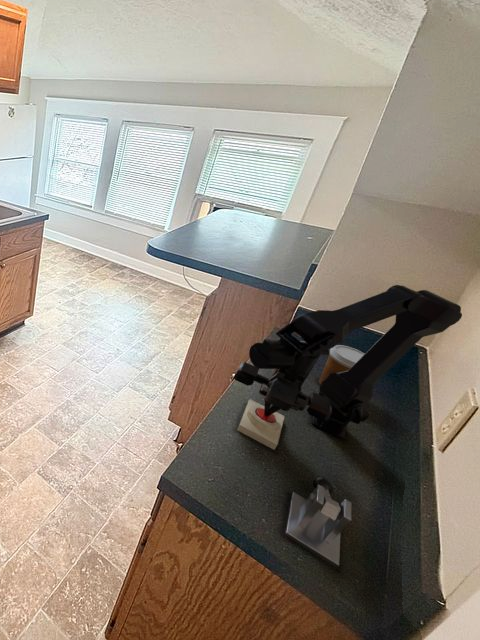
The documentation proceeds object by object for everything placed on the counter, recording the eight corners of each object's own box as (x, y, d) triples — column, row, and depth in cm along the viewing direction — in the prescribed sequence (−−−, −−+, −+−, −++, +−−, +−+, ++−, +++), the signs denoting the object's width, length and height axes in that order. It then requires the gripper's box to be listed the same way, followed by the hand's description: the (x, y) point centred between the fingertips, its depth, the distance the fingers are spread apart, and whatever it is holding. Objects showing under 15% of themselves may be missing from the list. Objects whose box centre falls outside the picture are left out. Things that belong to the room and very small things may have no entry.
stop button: (255, 410, 97) (258, 406, 96) (273, 419, 94) (276, 414, 94) (252, 419, 94) (255, 414, 93) (270, 429, 92) (274, 424, 91)
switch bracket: (290, 495, 79) (310, 468, 75) (338, 522, 75) (362, 495, 71) (283, 535, 72) (305, 508, 67) (336, 569, 67) (362, 541, 63)
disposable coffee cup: (312, 371, 117) (332, 339, 112) (351, 386, 112) (373, 354, 107) (311, 386, 111) (331, 354, 105) (352, 404, 105) (376, 371, 100)
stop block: (246, 405, 102) (252, 394, 100) (280, 422, 97) (287, 410, 95) (236, 431, 93) (242, 419, 91) (273, 451, 89) (281, 439, 87)
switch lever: (309, 484, 81) (316, 471, 80) (327, 494, 79) (334, 481, 78) (315, 512, 70) (323, 497, 69) (337, 524, 68) (345, 509, 68)
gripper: (241, 362, 86) (217, 411, 93) (345, 407, 75) (308, 459, 83) (251, 341, 93) (228, 388, 101) (346, 380, 83) (312, 429, 90)
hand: (266, 414), depth 93 cm, fingers closed, pressing on stop button
